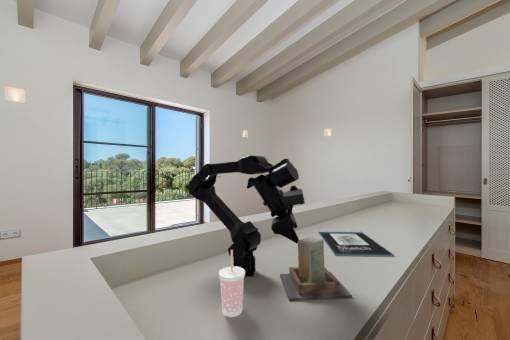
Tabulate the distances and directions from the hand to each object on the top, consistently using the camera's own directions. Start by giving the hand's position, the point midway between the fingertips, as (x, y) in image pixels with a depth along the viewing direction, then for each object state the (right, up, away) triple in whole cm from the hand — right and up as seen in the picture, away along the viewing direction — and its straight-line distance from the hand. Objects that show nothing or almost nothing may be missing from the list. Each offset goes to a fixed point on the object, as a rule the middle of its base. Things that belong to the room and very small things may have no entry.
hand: (297, 234), depth 69 cm
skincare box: (+3, -12, -6) cm, 14 cm away
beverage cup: (-18, -13, -17) cm, 28 cm away
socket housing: (+3, -12, -6) cm, 14 cm away
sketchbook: (+29, -13, +30) cm, 43 cm away
